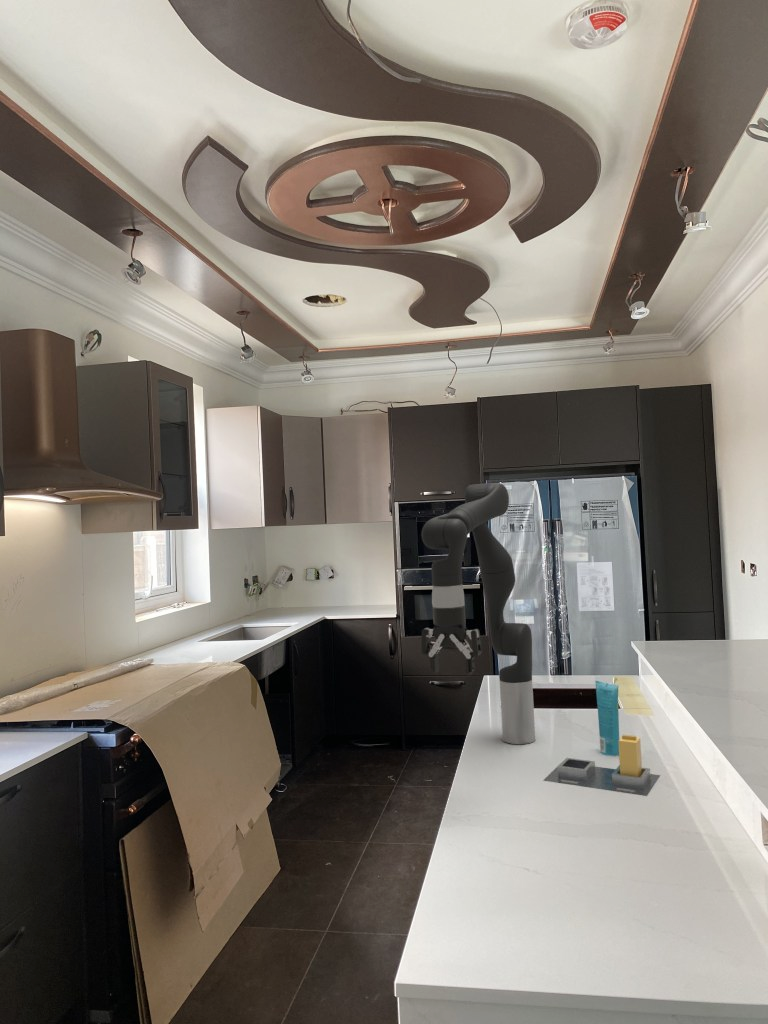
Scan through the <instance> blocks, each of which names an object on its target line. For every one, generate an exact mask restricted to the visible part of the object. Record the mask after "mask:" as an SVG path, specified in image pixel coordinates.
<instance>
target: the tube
mask: <svg viewBox="0 0 768 1024" xmlns="http://www.w3.org/2000/svg"><path fill="white" fill-rule="evenodd" d="M594 683H595V693H596V704H597V706H596V707H597V717H598V718H597V720H598V729H599V730H598V732H599V748H600V754H602V755H605V756H612V757H614V756H619V742H618V741H619V740H620V723H619V722H620V721H619V714H620V713H619V685H618V684H613V683H610V682H609V683H608V682H604V681H599V680H595V682H594Z"/></svg>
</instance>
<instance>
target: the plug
mask: <svg viewBox="0 0 768 1024" xmlns="http://www.w3.org/2000/svg"><path fill="white" fill-rule="evenodd" d="M618 742H619V755H618V757H619V765H620V774H623V775H631V776H638V777H641V775H642V768H643V765H642V748H641V747H642V746H641V745H642V744H641V737H638V736H637V735H632V734H631V735H630V734H622V736H621V737H619V741H618Z"/></svg>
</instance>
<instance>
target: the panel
mask: <svg viewBox="0 0 768 1024" xmlns="http://www.w3.org/2000/svg"><path fill="white" fill-rule="evenodd" d="M660 777H661V774H653V773H651V769H650V768H649V767H642V775H641V777H638V776H631V775H623V774H620V764H619V765H618V766H617V767H616V768H615V769H614V768H609V767H603V766H596V762H595V761H594V760H587V759H580V758H571V757H566V758H564V760H563V761H562V762H560V763H559V764H558V766H556V767H555V768H554V769H553V770H552V771H551V772H550V773H549V774H548V775H547V776H546V777H545V778H544V779H543V780H542V781H544V782H548V783H549V782H550V783H555V784H556V783H557V784H563V785H570V786H577V787H584V788H590V789H597V790H603V791H611V792H616V793H624V794H630V795H638V796H642V797H648V795H649V794H650V793H651V791H652V789H653V787H654V786H655V784H656V783H657V782H658V780H659V778H660Z"/></svg>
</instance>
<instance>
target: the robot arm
mask: <svg viewBox="0 0 768 1024" xmlns="http://www.w3.org/2000/svg"><path fill="white" fill-rule="evenodd" d="M509 503H510V497H509V491H508V489H507V487H506V486H505V485H504V484H503V483H499V482H486V483H485V482H484V483H476V484H475V483H474V484H469V485H467V487H466V488H465V491H464V503H463V504H460V505H458V506H456V507H455V508H453V509H452V510H450V511H449V512H447V513H445V514H441V515H437V516H435V517H432V518H430V519H429V520H428V521H426V522H425V524H424V525H423V527H422V529H421V540H422V542H423V544H424V545H425V547H427V548H428V549H430V550H449V552H448V554H447V556H446V557H444V558H441V559H438V560H434V561H433V562H432V564H431V583H432V584H431V585H432V592H431V604H432V618H433V619H432V620H433V628H430V627H425V628H423V629H422V630H421V654H422V655H427V656H428V657H429V665H430V670H431V671H432V673H433V674H437V673H439V672H440V663H439V662H440V661H439V655H438V653H440V650H441V649H442V648H443V649H447V648H450V649H457V648H458V650H459V651H460V652H461V653H462V654H463V655H464V657H465V669H466V670H465V671H466V672H465V673H466V674H465V675H467V676H471V675H472V674H473V673H474V672H475V669H476V667H475V658H476V657H478V656H480V655H481V654H482V653H483V650H482V642H481V632H480V629H478V628H475V629H470V630H469V629H468V628H467V625H466V624H467V623H466V622H467V621H466V603H465V592H464V585H463V570H462V569H463V560H464V559H463V558H464V553H465V549H466V544H467V540H468V535H469V534H470V533H471V532H472V535H473V540H474V543H475V547H476V548H475V549H476V552H477V554H476V555H477V559H478V564H479V565H478V567H479V572H480V577H481V582H482V586H483V592H484V595H485V601H486V607H487V614H488V615H487V616H488V622H489V623H488V625H489V633H490V641H491V646H492V648H493V651H494V653H495V654H496V655H499V656H510V657H511V656H512V657H513V656H514V657H516V662H514V663H513V664H511V665H507V666H504V667H502V668H501V669H499V671H498V677H499V679H498V681H499V693H500V694H499V695H500V697H499V698H500V711H501V712H500V716H501V733H502V734H501V735H502V741H503V742H505V743H507V744H513V745H526V744H530V743H534V742H535V740H536V727H535V710H534V709H535V708H534V707H535V705H534V691H533V688H534V687H533V638H532V637H533V635H532V629H531V627H530V626H529V624H527V623H522V622H521V623H517V622H506V621H505V619H504V610H505V606H506V603H507V602H508V600H509V597H510V595H511V594H512V592H513V590H514V587H515V584H516V575H515V569H514V568H515V567H514V563H513V559H512V557H511V555H510V553H509V551H507V549H506V548H505V546H503V544H502V543H501V542H500V541H499V540H498V539H497V538H496V537H495V535H493V533H492V531H491V529H490V527H489V525H488V521H490V520H493V519H495V518H498V517H502V516H503V515H505V513H507V512H508V509H509ZM432 637H433V638H435V639H436V641H435V642H434V644H433V646H431V638H432ZM467 637H468V638H469V639H470V640H471V646H470V644H469V642H468V641H467V640H466V638H467ZM431 647H432V648H431Z"/></svg>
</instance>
